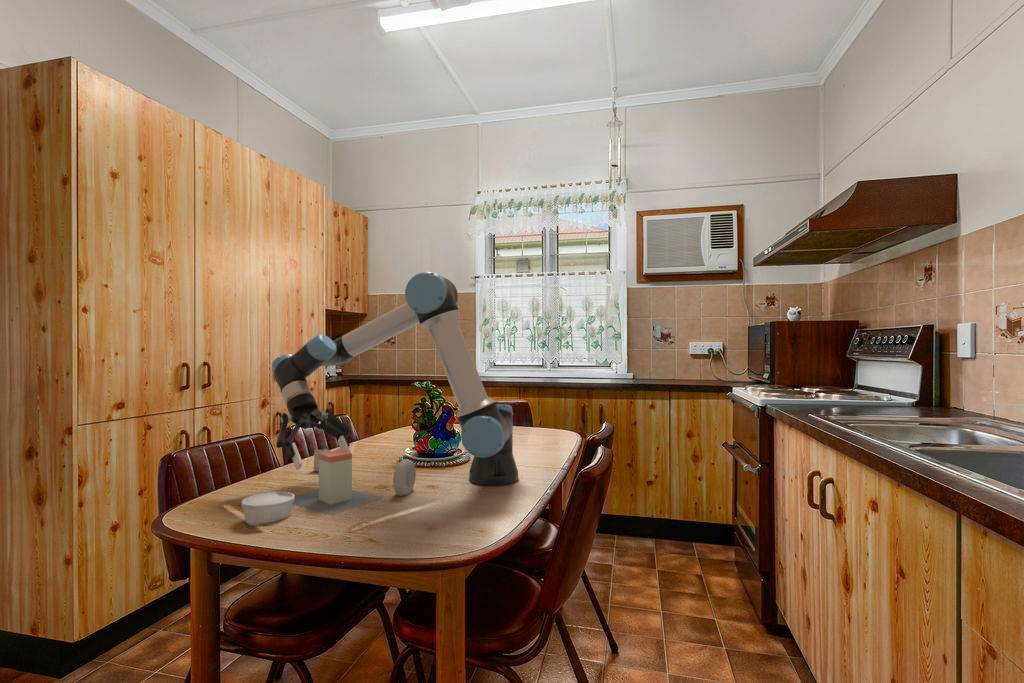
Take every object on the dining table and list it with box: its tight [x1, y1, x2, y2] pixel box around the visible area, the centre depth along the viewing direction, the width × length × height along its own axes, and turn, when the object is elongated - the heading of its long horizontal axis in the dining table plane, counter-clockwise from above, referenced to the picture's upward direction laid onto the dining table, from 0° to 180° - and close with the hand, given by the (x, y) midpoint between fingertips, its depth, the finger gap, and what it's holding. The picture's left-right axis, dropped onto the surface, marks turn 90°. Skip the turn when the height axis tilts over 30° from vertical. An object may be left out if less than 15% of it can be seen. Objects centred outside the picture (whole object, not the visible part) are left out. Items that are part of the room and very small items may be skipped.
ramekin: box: [241, 490, 295, 528], centre depth 117 cm, size 11×11×5 cm
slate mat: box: [293, 489, 383, 516], centre depth 130 cm, size 20×16×1 cm
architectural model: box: [313, 448, 332, 472], centre depth 162 cm, size 3×7×8 cm, turn 84°
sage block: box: [318, 449, 353, 505], centre depth 129 cm, size 6×6×12 cm
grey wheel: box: [392, 458, 417, 497], centre depth 135 cm, size 10×4×10 cm, turn 168°
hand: (325, 461), depth 131 cm, fingers open, 13 cm apart
